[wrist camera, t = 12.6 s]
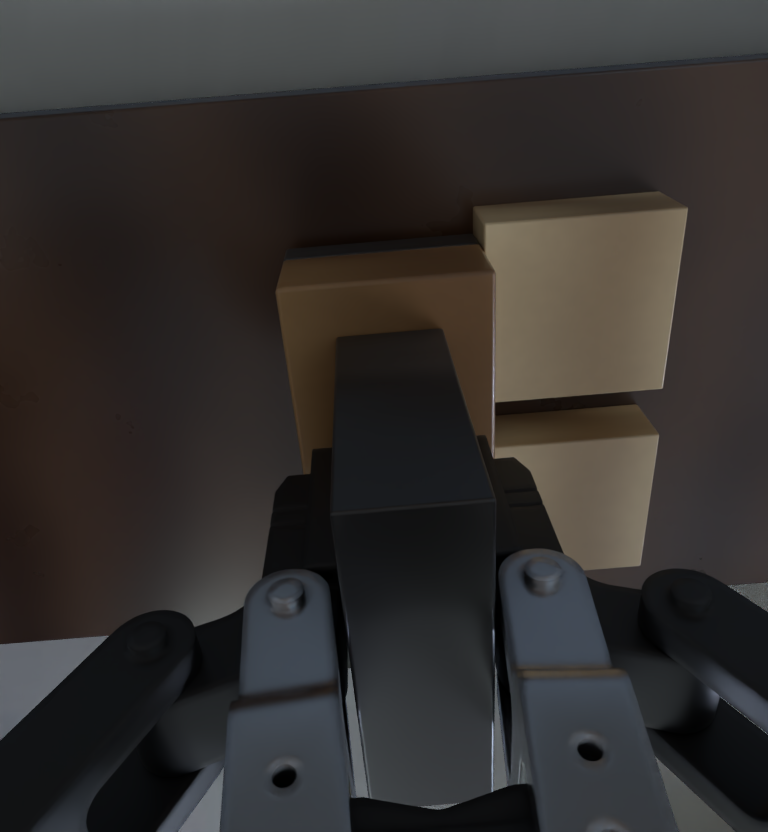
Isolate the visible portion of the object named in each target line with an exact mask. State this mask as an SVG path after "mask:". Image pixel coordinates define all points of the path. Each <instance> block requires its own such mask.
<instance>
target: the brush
mask: <svg viewBox="0 0 768 832" xmlns="http://www.w3.org/2000/svg"><path fill="white" fill-rule="evenodd" d="M275 294H276V300H277V307H278V313H279V320H280V326H281V333H282V339H283V345H284V352H285V358H286V365H287V371H288V378H289V384H290V391H291V397H292V404H293V410H294V416H295V423H296V429H297V436H298V442H299V449H300V455H301V462H302V468H303V474H310V472H311V459H312V450H313V449H318V448H330V447H332V466H331V494H330V520H331V527H332V534H333V542H334V549H335V556H336V564H337V571H338V578H339V585H340V593H341V600H342V607H343V615H344V622H345V629H346V636H347V644H348V651H349V658H350V665H351V673H352V680H353V687H354V695H355V702H356V709H357V716H358V724H359V731H360V738H361V746H362V753H363V760H364V767H365V775H366V782H367V789H368V796H369V798H370V799H376V800H382V801H387V802H393V803H399V804H405V805H411V806H416V807H419V806H431V805H442V804H454V803H463V802H466V801H468V800H471V799H474V798H477V797H479V796H482V795H485V794H488V793H491V792H493V791H494V705H495V588H496V498H495V495H494V491H493V488H492V485H491V482H490V479H489V475H488V472H487V469H486V466H485V463H484V459H483V456H482V453H481V450H480V446H479V443H478V440H477V437H476V435H485V436H486V438H487V441H488V444H489V447H490V450H491V453H492V456H493V459H495V359H496V272H495V270H494V268H493V267H492V265H491V263H490V262H489V260H488V258H487V256H486V255H485V253H484V251H483V250H482V248H481V246H480V245H479V243H478V241H477V239H476V238H475V236H474V234H460V235H448V236H436V237H424V238H412V239H400V240H389V241H377V242H365V243H353V244H341V245H329V246H317V247H305V248H293V249H288V250H286V253H285V257H284V261H283V265H282V269H281V273H280V276H279V280H278V284H277V287H276V291H275Z"/></svg>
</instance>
